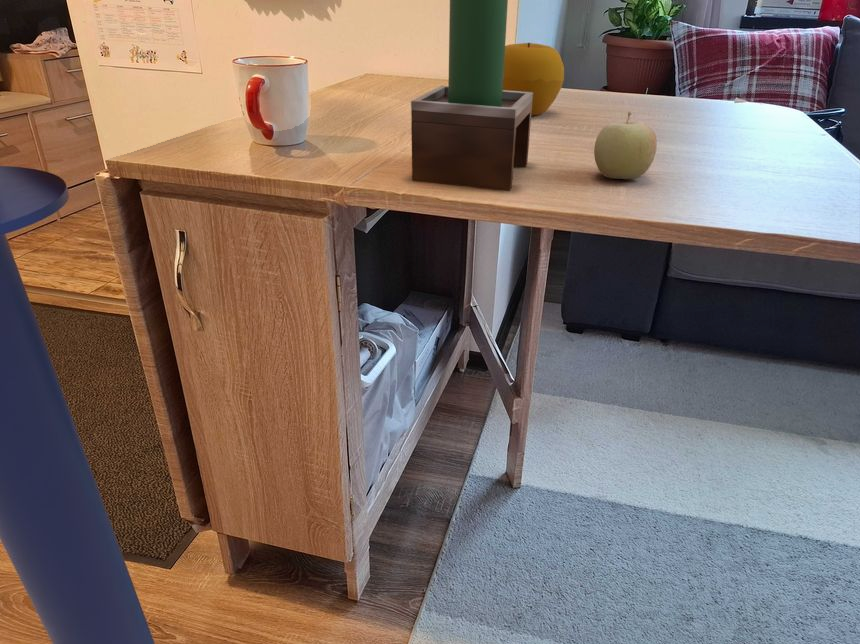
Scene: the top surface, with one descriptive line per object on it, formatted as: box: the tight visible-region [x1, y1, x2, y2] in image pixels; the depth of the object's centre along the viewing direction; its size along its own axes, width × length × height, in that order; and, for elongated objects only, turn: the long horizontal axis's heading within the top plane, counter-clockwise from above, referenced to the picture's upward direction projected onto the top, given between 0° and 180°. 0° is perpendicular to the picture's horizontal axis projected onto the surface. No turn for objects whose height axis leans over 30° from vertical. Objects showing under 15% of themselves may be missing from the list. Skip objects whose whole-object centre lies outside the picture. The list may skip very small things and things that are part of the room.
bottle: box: [447, 0, 509, 107], centre depth 71 cm, size 6×6×18 cm
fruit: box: [593, 111, 658, 180], centre depth 78 cm, size 8×7×8 cm
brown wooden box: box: [410, 85, 533, 192], centre depth 77 cm, size 12×12×9 cm
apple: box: [503, 42, 565, 117], centre depth 111 cm, size 13×13×11 cm
